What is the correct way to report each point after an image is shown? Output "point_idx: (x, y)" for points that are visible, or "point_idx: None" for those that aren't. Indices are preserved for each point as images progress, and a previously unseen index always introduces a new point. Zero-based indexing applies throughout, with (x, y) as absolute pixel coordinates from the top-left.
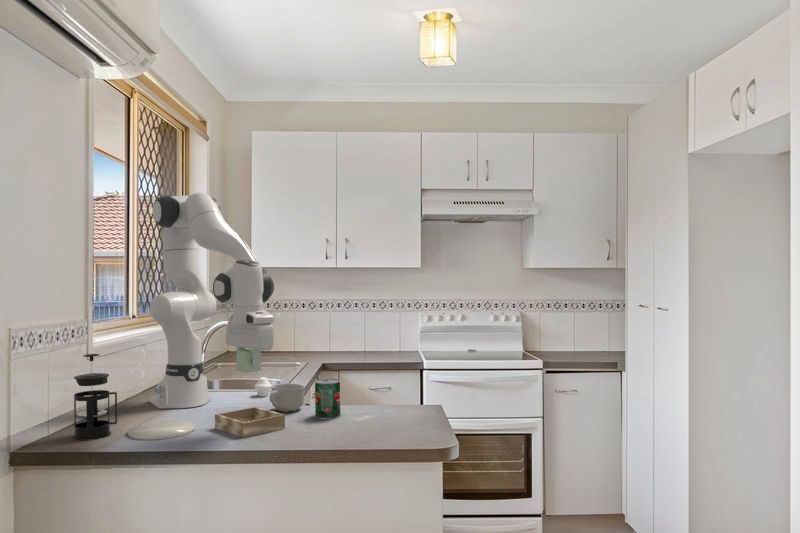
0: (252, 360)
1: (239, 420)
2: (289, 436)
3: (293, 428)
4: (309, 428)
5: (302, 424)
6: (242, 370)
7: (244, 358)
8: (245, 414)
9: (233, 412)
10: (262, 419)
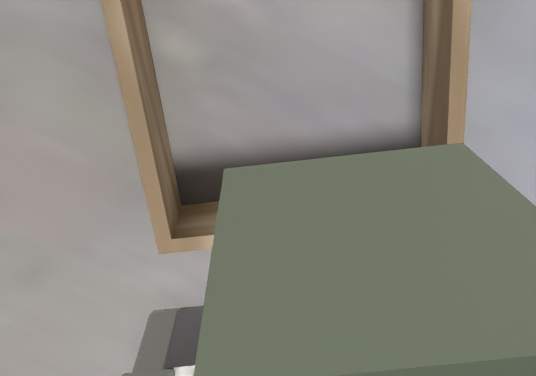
0: (170, 346)
1: (427, 95)
2: (15, 167)
3: (148, 246)
4: (103, 294)
5: (190, 304)
6: (313, 167)
7: (259, 274)
8: (435, 142)
9: (447, 67)
10: (126, 112)
